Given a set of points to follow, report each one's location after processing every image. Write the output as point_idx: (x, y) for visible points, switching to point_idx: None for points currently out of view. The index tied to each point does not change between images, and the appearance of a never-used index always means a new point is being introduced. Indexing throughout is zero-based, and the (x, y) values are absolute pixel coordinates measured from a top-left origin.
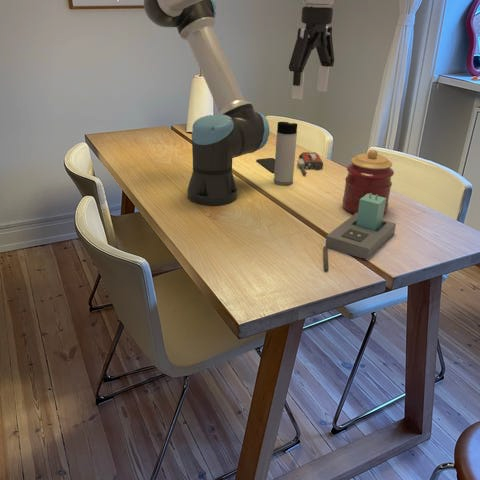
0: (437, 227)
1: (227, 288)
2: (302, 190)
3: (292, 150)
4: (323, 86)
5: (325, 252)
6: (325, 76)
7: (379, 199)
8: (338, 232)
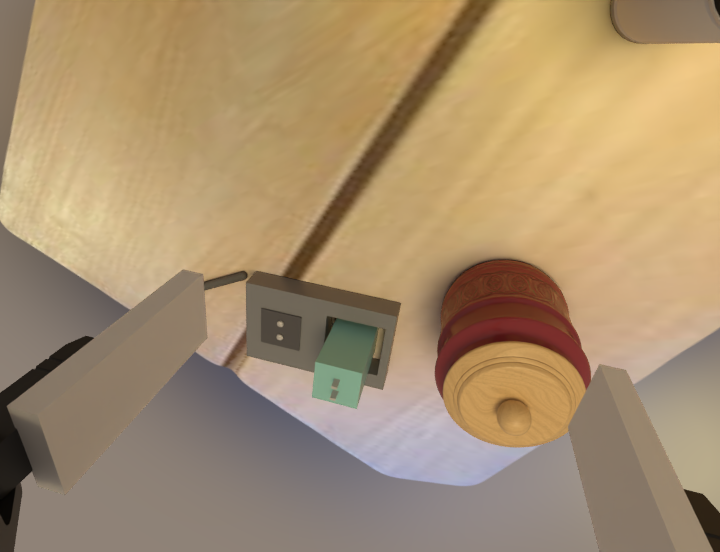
0: (460, 438)
1: (29, 166)
2: (579, 110)
3: (688, 38)
4: (585, 444)
5: (219, 282)
6: (608, 539)
7: (339, 397)
8: (274, 300)
